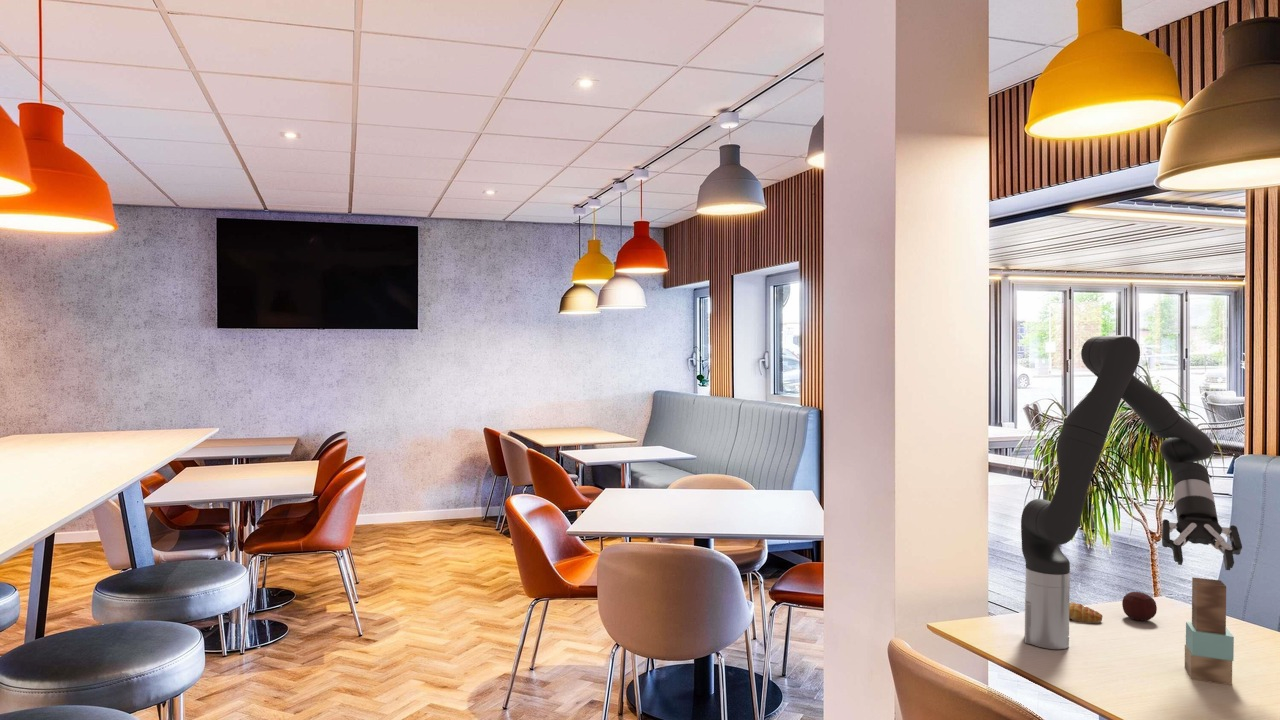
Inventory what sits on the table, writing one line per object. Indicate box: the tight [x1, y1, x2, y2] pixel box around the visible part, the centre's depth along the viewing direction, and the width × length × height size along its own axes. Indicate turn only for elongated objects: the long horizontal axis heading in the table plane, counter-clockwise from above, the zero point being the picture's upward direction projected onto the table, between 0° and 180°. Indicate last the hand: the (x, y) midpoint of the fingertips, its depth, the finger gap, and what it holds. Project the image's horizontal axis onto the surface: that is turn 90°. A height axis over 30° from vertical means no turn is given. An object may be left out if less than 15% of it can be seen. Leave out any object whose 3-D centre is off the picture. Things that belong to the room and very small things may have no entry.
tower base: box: [1184, 644, 1233, 686], centre depth 165 cm, size 7×7×5 cm
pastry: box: [1069, 602, 1103, 624], centre depth 201 cm, size 9×7×4 cm
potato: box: [1121, 591, 1158, 622], centre depth 201 cm, size 7×8×7 cm
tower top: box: [1185, 621, 1235, 662], centre depth 165 cm, size 7×7×5 cm
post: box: [1191, 576, 1227, 635], centre depth 165 cm, size 5×5×10 cm
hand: (1204, 565), depth 169 cm, fingers open, 8 cm apart
